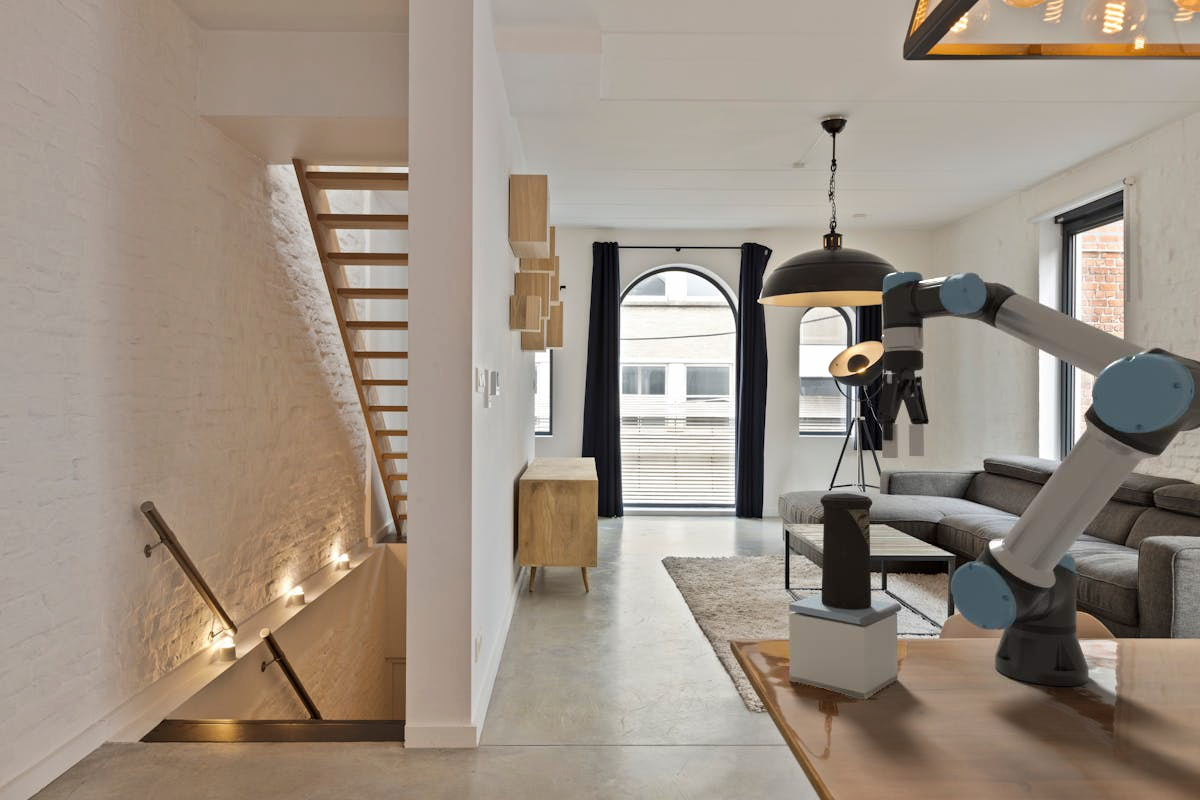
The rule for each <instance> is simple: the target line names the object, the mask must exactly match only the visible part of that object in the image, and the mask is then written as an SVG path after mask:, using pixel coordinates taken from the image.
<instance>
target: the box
mask: <svg viewBox="0 0 1200 800" xmlns="http://www.w3.org/2000/svg"><path fill="white" fill-rule="evenodd" d="M788 615H789V616H788V618H789V620H788V623H789V624H788V625H789V627H788V628H789V629H788V631H789V632H788V633H789V638H788V640H789V643H788V644H789V646H788V647H789V649H788V650H789V651H788V652H789V653H788V654H789V658H788V659H789V662H788V663H789V667H788V668H789V672H788V673H789V675H788V676H789V677H788V678H789V682H792V683H796V682H798V683H797V684H800V683H804V684H809V685H814V686H819V687H823V688H826V689H829V690H832V691H835V692H839V693H842V694H841V695H843V694H846V695H845V696H847V695H849V696H848V697H851V696H852V698H855V699H860V700H863V699H864V700H863V701H866V700H867V699H869V698H870V697H872V696H874V695H875V694H877V693H878V692H877V691H879V690H880V691H882V690H883V689H882V688H883V687H885V686H887V685H888V684H890V683H892V682H893V683H895V682H897V681H898V680H899V677H898V676H899V674H898V672H899V671H898V670H899V669H898V653H899V652H898V612H896V613H894V614H892V615H889V616H887V617H885V618H883V619H880V620H878V621H876V622H874V623H871V624H869V625H867V626H862V625H860V624H855V623H850V622H845V621H840V620H835V619H829V618H824V617H819V616H814V615H809V614H804V613H799V612H794V611H792V612H790V613H789V614H788ZM897 679H898V680H897ZM896 680H897V681H896ZM894 681H895V682H894ZM893 683H892V684H893ZM804 684H803V685H804ZM890 685H891V684H890ZM887 687H888V686H887ZM885 688H886V687H885ZM881 689H882V690H881ZM880 691H879V692H880ZM835 692H834V693H835ZM876 692H877V693H876ZM839 693H838V694H839ZM874 693H875V694H874ZM873 694H874V695H873ZM868 697H869V698H868ZM865 699H866V700H865Z"/></svg>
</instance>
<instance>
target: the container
mask: <svg viewBox="0 0 1200 800" xmlns="http://www.w3.org/2000/svg"><path fill="white" fill-rule="evenodd" d="M819 501H820V503H821V506H822V507H823V534H822V535H823V536H822V537H823V538H822V539H823V540H822V543H823V544H822V570H821V572H822V573H821V575H822V576H821V593H822V603H823V604H825V605H828V606H831V607H837V608H844V609H864V608H868V607H870V606H871V600H872V582H871V581H872V580H871V579H872V578H871V536H870V535H871V533H870V532H871V529H870V528H871V527H870V523H871V522H870V521H871V519H870V518H871V517H870V509H871V506H872V505H873V500H872V499H871V498H870V497H869V496H867V495H860V494H857V493H856V494H855V493H847V492H844V493H828V494H824V495H823V496H822V497H821V498H820V500H819Z"/></svg>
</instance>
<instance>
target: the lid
mask: <svg viewBox="0 0 1200 800" xmlns="http://www.w3.org/2000/svg"><path fill="white" fill-rule="evenodd" d="M788 610H789V611H790V612H799V613H804V614H809V615H814V616H819V617H824V618H829V619H835V620H840V621H845V622H850V623H855V624H860V625H862V626H867V625H869V624H871V623H874V622H876V621H878V620H880V619H883V618H885V617H887V616H889V615H892V614H894V613H898V612H900V611H901V610H902V605H901V604H900V603H893V602H886V601H881V600H876V599H871V606H870V607H868V608H864V609H844V608H837V607H831V606H828V605H825V604H823V603H822V592H821V593H818V594H815V595H811V596H809V597H806V598H802V599H800V600H797V601H794V602H791V603H788Z"/></svg>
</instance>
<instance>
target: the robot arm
mask: <svg viewBox="0 0 1200 800" xmlns="http://www.w3.org/2000/svg"><path fill="white" fill-rule="evenodd" d="M882 282H883V283H882V294H881V299H882V301H881V303H882V319H883V321H882V322H883V323H882V324H883V325H882V335H881V336H880V339H881V340H882V347H883V348H882V349H883V350H884V351H885V352H883V354H882V368H883V370H884V371H885V372H886V373H883V379H882V388H881V394H880V399H879V404H878V407H877V412H876V424H878V425H881V431H882V432H881V436H882V437H881V443H882V444H881V446H882V449H881V451H882V452H881V453H882V456H881V457H882V459H883V458H884V459H898V458H899V450H898V449H899V446H898V445H899V444H898V441H899V439H898V437H899V436H898V435H899V434H898V432H899V431H898V423H896V421H897V417H898V416H899V412H900V408H901V405H902V403H903V401H904V405H905V408H906V411H907V415H908V417H909V420H910V424H908V440H909V441H908V449H909V450H908V452H909V453H908V455H909V457H925V439H924V438H925V431H924V429H925V426H924V425H929V416H928V411H927V405H926V400H925V394H924V390H923V378H922V376H921V375H917V376H916V373H915V372H916V371H921V370H923V369H924V352H923V351H921V350H922V349H923V348H924V320H926V319H931V318H932V319H933V318H940V317H941V318H942V317H955V318H962V319H966V320H967V319H968V320H975V321H979V322H982V323H984V324H985V325H986V324H987V325H988V326H990V327H992V328H995V329H998V330H999V331H1002V332H1003V333H1006V334H1008V335H1009V336H1012V337H1014V338H1016V339H1018V340H1020V341H1022V342H1024V343H1026V344H1029V345H1030V346H1032V347H1034V348H1036V349H1038V350H1041V351H1043V352H1045V353H1047V354H1049V355H1050V356H1053V357H1054V358H1057V359H1059V360H1061V361H1063V362H1065V363H1067V364H1069V365H1071V366H1073V367H1075V368H1077V369H1079V370H1082V371H1083V372H1085V373H1088V374H1089V375H1092V376H1094V377H1095V378H1096V379H1095V381H1094V383H1093V386H1092V390H1091V397H1092V403H1091V405H1090V406H1089V407H1088V409H1087V410H1086V412H1085V413H1084V415H1083V418H1084V421H1085V422H1084V423H1085V424H1086V428H1085V431H1084V432H1083V433H1082V435H1081V436H1080V437H1079V438H1078V440H1077V441H1076V442H1075V444H1074V445H1073V447H1072V448H1071V450H1070V451H1068V454H1067V455H1066V456H1064V457H1065V458H1064V459H1062V461H1061V463H1059V465H1058V467H1057V468H1056V469H1055V471H1054V472H1053V473H1052V475H1050V477H1049V479H1048V480H1047V481H1046V482H1045V484H1044V485H1043V486H1042V488H1041V489H1040V490H1039V491H1038V494H1037V495H1036V496H1035V497H1034V498H1033V500H1032V501H1031V503H1030V504H1029V505H1028V507H1027V508H1026V509H1025V511H1023V513H1022V514H1021V516H1020V518H1018V520H1017V521H1016V522H1015V524H1014V525H1013V526H1012V528H1011V529H1010V530H1009V532H1008V533H1007V534H1006V536H1005V537H998V538H992V539H991V540H990V541H989V542H988V544H987V545H986V546H985V548H984V549H983V550H982V551H981V553H980V554H979V556H978V557H977V558H976V559H975V561H968V562H966V563H964V564H962V565H961V566H959V567H958V568H957V569H956V570H955V571H954V574H953V575H952V577H951V581H950V592H951V594H952V598H953V600H952V601H953V603H954V605H955V607H956V609H957V610H958V612H959V613H960V615H961V616H962V617H963V618H964V619H965V620H966V621H967V622H968V623H969V624H970V623H971V625H972V626H975V627H977V628H979V629H983V630H989V631H990V630H991V631H993V630H999V631H1000V630H1003V632H1002V634H1001V637H1000V640H999V644H998V646H997V649H996V651H995V655H994V668H995V669H996V670H997V671H998V672H999V673H1000V674H1003V675H1005V676H1008V677H1010V678H1012V679H1016V680H1018V681H1019V680H1020V681H1022V682H1027V683H1032V684H1033V683H1034V684H1037V685H1045V686H1047V685H1048V686H1056V687H1057V686H1058V687H1073V686H1082V685H1085V684H1087V683H1088V682H1089V679H1090V677H1089V666H1088V662H1087V661H1086V658H1085V655H1084V652H1083V650H1082V646H1081V643H1080V641H1079V638H1078V635H1077V634H1078V633H1077V576H1078V573H1077V571H1076V569H1077V568H1076V560H1075V558H1074V557H1073V556H1072V555H1071V554H1070V553H1067V552H1069V550H1070V549H1071V547H1073V546H1074V544H1075V543H1076V542H1077V540H1078V539H1079V538H1080V536H1081V535H1082V534H1083V533H1084V532H1085V530H1086V529H1087V528H1088V527H1089V526H1090V524H1091V523H1092V522H1093V520H1094V519H1095V518H1096V517H1097V516H1098V514H1099V513H1100V512H1101V511H1102V509H1103V508H1104V507H1105V506H1106V504H1108V502H1109V501H1110V499H1111V498H1112V496H1114V495H1115V493H1116V492H1117V491H1118V490H1119V489H1120V488H1121V486H1122V485H1123V483H1124V482H1125V481H1126V480H1127V479H1128V478H1129V476H1130V475H1131V473H1133V471H1134V470H1135V469H1136V467H1137V466H1138V465H1139V464H1140V463H1141V461H1142V460H1145V459H1151V458H1157V457H1160V456H1161V455H1162V453H1163V452H1164V451H1165V450H1166V449H1167V447H1168V446H1169V445H1170V444H1171V443H1172V442H1173V440H1174V439H1175V438H1176V437H1177V435H1178V434H1179V433H1180V432H1190V431H1194V430H1197V429H1200V361H1199V360H1197V359H1193V358H1192V359H1191V358H1189V357H1184V356H1181V355H1178V354H1175V353H1173V352H1170V351H1167V350H1166V349H1163V348H1161V347H1155V346H1154V347H1151V348H1148V349H1146V348H1144V347H1142V346H1140V345H1137V344H1135V343H1132V342H1130V341H1128V340H1126V339H1124V338H1121V337H1118V336H1116V335H1115V334H1112V333H1110V332H1107V331H1105V330H1103V329H1100V328H1099V327H1095V326H1093V325H1091V324H1090V323H1088V322H1087V323H1086V322H1085V321H1083V320H1079V319H1077V318H1075V317H1072V316H1070V315H1068V314H1066V313H1064V312H1062V311H1059V310H1057V309H1054V308H1052V307H1050V306H1048V305H1045V304H1043V303H1041V302H1038V301H1036V300H1034V299H1031V298H1029V297H1027V296H1025V295H1022V294H1019V293H1017V292H1016V291H1015V290H1014V289H1013V288H1012V287H1010V286H1006V284H1005V285H1004V284H1002V283H998V282H986V281H984V280H983V278H980V276H979V275H978V274H977V273H974V272H963V273H959V272H957V273H953V274H949V275H945V276H938V277H934V278H927V279H923V274H922V273H920V272H918V271H902V272H899V271H898V272H893V273H892V272H891V273H889V274H887V275H885V276H884V279H883V281H882ZM887 372H888V373H887Z"/></svg>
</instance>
